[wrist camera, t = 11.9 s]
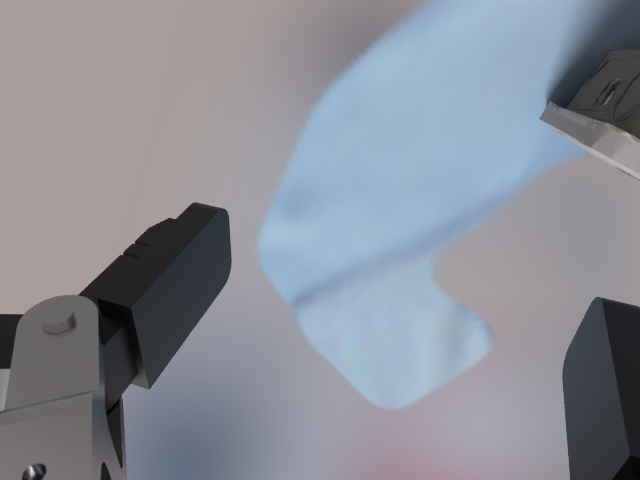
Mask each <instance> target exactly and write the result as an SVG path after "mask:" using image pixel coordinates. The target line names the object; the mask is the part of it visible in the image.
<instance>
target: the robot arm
mask: <svg viewBox="0 0 640 480" xmlns="http://www.w3.org/2000/svg"><path fill="white" fill-rule="evenodd" d="M230 270H231V244H230V227H229V216H228V212H227V211H226V210H225V209H222V208H218V207H214V206H209V205H205V204H200V203H196V202H195V203H192V204H191V205H190V206H189V207H188V208H187V209H186V210H185V211H184V212H183V213H182V214H181V215H180V216H179V217H178V218H177V219H172V218H168V219H166V220H164V221H162V222H160V223H158V224H156V225H154V226H152V227H150V228H148V229H147V230H146V231H145V232H144V233H143V234H142V235H141V236H140V237H139V238H138V239H137V240H136V241H135V244H132V245H131V246H129V247H128V248H127V249H126V250H125V251H124V253H123V255H120V256H119V257H118V258H117V259H116V260H115V261H114V262H113V263H111V264H110V265H109V266H108V267H107V268H106V269H105V270H104V271H103V272H102V273H101V274H100V275H99V276H98V277H97V278H96V279H95V280H93V281H92V282H91V283H90V284H89V285H88V286H87V287H86V288H85V289H84V290H83V291H82V292H81V293H80V294H79V295H63V296H57V297H53V298H50V299H47V300H44V301H42V302H40V303H38V304H37V305H35V306H33V307H32V308H31V309H29V310H28V311H27V312H26V313H25V314H22V315H21V314H0V480H128V479H127V463H126V445H125V427H124V409H123V399H122V394H123V393H124V391H125V390H126V389H127V387H128V386H129V385H130V384H134V385H137V386H140V387H143V388H146V389H150V388H151V387H152V385H153V384H154V382H155V381H156V380H157V378H158V377H159V375H160V374H161V373H162V371H163V370H164V369H165V367H166V366H167V365H168V363H169V362H170V360H171V359H172V358H173V356H174V355H175V354H176V352H177V351H178V349H179V348H180V347H181V345H182V344H183V342H184V341H185V340H186V338H187V337H188V336H189V334H190V333H191V331H192V330H193V328H194V327H195V326H196V325H197V323H198V322H199V320H200V319H201V318H202V316H203V315H204V314H205V312H206V311H207V309H208V308H209V307H210V305H211V304H212V302H213V301H214V300H215V298H216V297H217V296H218V294H219V293H220V291H221V290H222V289H223V287H224V286H225V284H226V282H227V280H228V277H229V274H230ZM563 391H564V404H565V417H566V430H567V443H568V456H569V469H570V480H640V308H639V307H638V306H635V305H630V304H626V303H622V302H617V301H613V300H609V299H605V298H600V297H596V298H595V299H594V300H593V301H592V303H591V304H590V306H589V308H588V310H587V312H586V314H585V316H584V318H583V320H582V322H581V324H580V326H579V328H578V330H577V332H576V334H575V336H574V338H573V340H572V342H571V344H570V346H569V348H568V350H567V353H566V356H565V360H564V365H563Z"/></svg>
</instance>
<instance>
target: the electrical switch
mask: <svg viewBox="0 0 640 480" xmlns="http://www.w3.org/2000/svg"><path fill="white" fill-rule="evenodd" d="M606 89H607V90H606ZM605 90H606V91H605ZM603 91H604V92H603ZM540 120H542V121H543V122H544V123H545V124H546V125H547V126H549V127H550V128H551V129H553V130H555V131H556V132H558V133H559V134H561V135H563V136H564V137H566V138H568V139H569V140H571V141H572V142H574V143H576V144H577V145H579V146H580V147H582V148H584V149H585V150H587V151H589V152H590V153H592V154H593V155H595V156H597V157H599V158H601V159H603V160H605V161H606V162H607V163H609V164H610V165H612V166H614V167H616V168H617V169H619V170H621V171H622V172H624V173H626V174H628V175H629V176H631V177H633V178H635V179H637V180H639V181H640V50H609V51H608V53H607V54H606V56H605V57H604V59H603V60H602V62H601V63H600V65H599V66H598V68H597V69H596V71H595V72H594V74H593V75H592V77H588V78H587V79H586V81H585V82H584V84H583V85H582V87H581V88H580V90H579V91H578V93H577V94H576V96H575V97H574V99H573V100H572V101H571V102H570V104H569V105H568V106H567V107H566V109H564V108H561V107H559V106H558V105H556V104H554V103H552V102H551V101H550V102H549V104H548V105H547V107H546V109H545V110H544V112H543V114H542V116H541V117H540Z"/></svg>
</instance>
